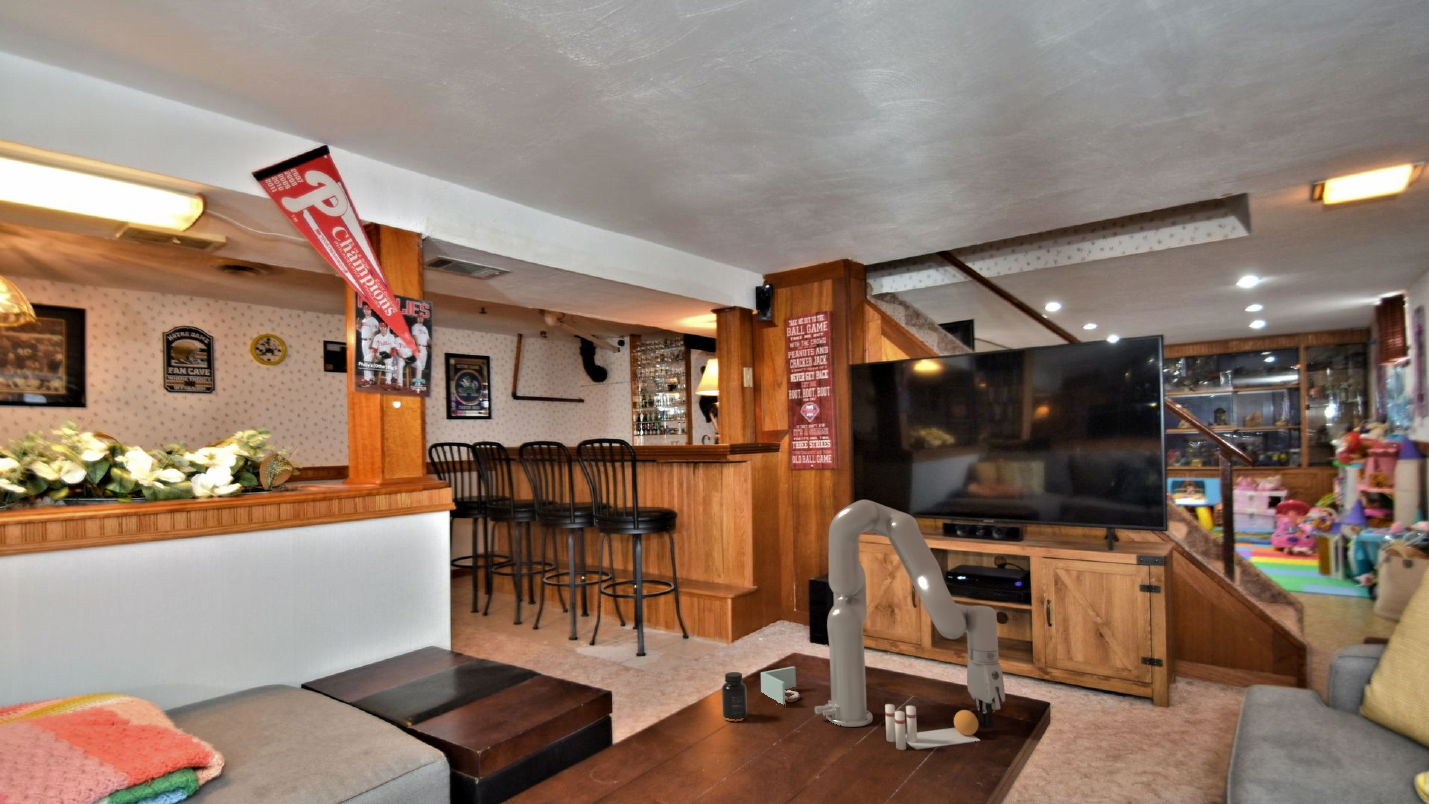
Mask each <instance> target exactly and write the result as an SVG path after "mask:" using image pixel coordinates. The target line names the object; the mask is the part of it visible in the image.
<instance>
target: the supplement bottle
mask: <svg viewBox="0 0 1429 804" xmlns="http://www.w3.org/2000/svg"><path fill="white" fill-rule="evenodd" d="M724 682H725V683H723V685H722V687H721V699H722V700H721V703H722V704H721V705H722V717H723V716H724V717H725V718H729V719H735V720H736V719H741V718H745V717H746V716H747V717H748V705H747V704H748V703H747V686H746V684H745V683H743V673H741V672H737V671H731V672H727V673H725V675H724Z"/></svg>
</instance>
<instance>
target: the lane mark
mask: <svg viewBox="0 0 1429 804" xmlns="http://www.w3.org/2000/svg"><path fill="white" fill-rule="evenodd" d="M905 734H906V744H909V746H910V747H912V748H914V749H915V750H922V749H930V748H938V747H945V746H953V745H960V744H967V743H975V741H976V742H981V739H979V738H978V737H977V736H975V735H974V734H972V735H969V736H967V735H963V734H961V733H959V732H958V731H957V729H956V728H955V727H951V728H950V727H949V728H943V729H934V730H927V731H926V730H925V731H919V732H918V731H917V742H916V743H910V742H908V741H907V733H905Z"/></svg>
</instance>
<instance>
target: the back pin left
mask: <svg viewBox="0 0 1429 804" xmlns="http://www.w3.org/2000/svg"><path fill="white" fill-rule="evenodd" d="M884 708H885V709H884V710H885V713H884V714H885V731H886V732H885V734H886V735H885V736H886V741H887V742H890V743H896V732H895V711H896V706H895V705H894V704H891V703H887V704H885V705H884Z"/></svg>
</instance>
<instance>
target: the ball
mask: <svg viewBox="0 0 1429 804" xmlns="http://www.w3.org/2000/svg"><path fill="white" fill-rule="evenodd" d="M953 725H954V728H956V729H957V731H958V732H959V733H961V734H963V735H967V736H969V735H974V734H975V733H977V731H978V729H979V719H978V717H976V714H974V713H973V712H972V711H970V710H967V709H962V710H959V711H958V712H956V714H955V715H954V717H953Z"/></svg>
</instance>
